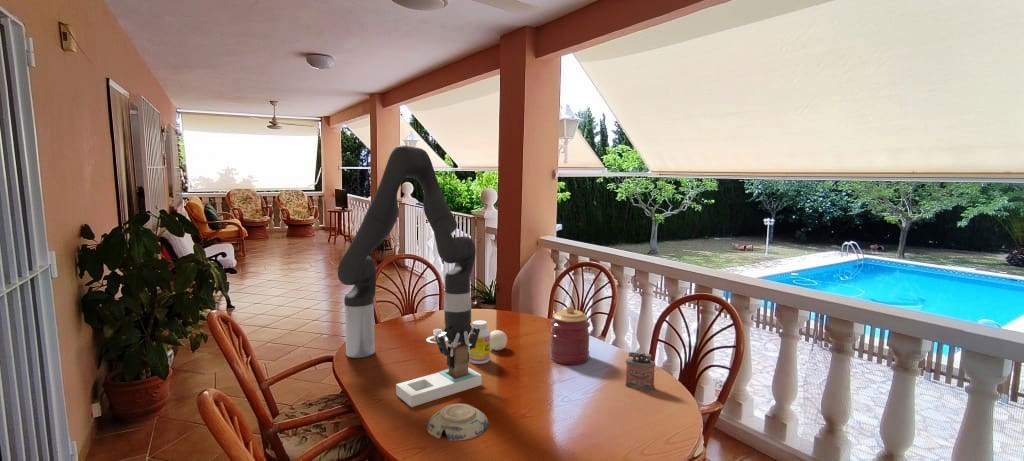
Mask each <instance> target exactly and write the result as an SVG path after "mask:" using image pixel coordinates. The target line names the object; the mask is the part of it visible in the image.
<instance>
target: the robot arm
mask: <svg viewBox="0 0 1024 461" xmlns="http://www.w3.org/2000/svg"><path fill="white" fill-rule="evenodd" d="M405 178H411V179H413V178H414V179H415V180H416V181H417V183H419V185H420V187H421V189H422V192H423V201H422V202H423V212H424V215H425V217H426V220H427V221H428V223H429V225H430V227H431V229H432V231H433V234H434V240H435V243H436V249H437V250H436V251H437V253H438V256H439V257H440V259H441V260H442V261H444V263H446V264H455V265H454V267H453V268H452V269H451V270H449V271H447V272H446V274H445V276H444V298H443V299H444V302H443V305H444V325H445V326H444V330H443V332H444V333H442V334H440V335H436V336H435V338H436V340H435V342H437V343H436V344H437V346H438V350H439V352H440V354H442V355H444V356H446V365H447V367H448V369H449V368H451V369H453V368H454V356H453V355H454V349H455V348H456V347H457V344H458V343H459V342H461V343H463V344H465V345H468V363H469V362H470V360H469V352H470V350H471V349H472V348H473V349H474V348H475V346H476V343H477V339H478V335H479V331H480V329H479V328H476V327H474V326H472V325H471V324H472V296H471V275H472V272H473V267H474V263H475V259H476V254H477V253H476V251H477V249H476V244H475V242H474V241H473V239H472V238H471V237H470V236H468V235H467V236H465V235H464V236H463V235H462V236H455V237H453V234H452V233H454V232H455V231H456V229H458V222H457V220H456V218H455V216H454V213H453V212H452V210H451V209H450V206H449V205H448V203H447V201H446V199H445V196H444V195H443V192H442V189H441V187H440V184H439V180H438V178H437V174H436V172H435V168H434V166H433V162H432V161H431V158H430V156H429V154H428V152H427V151H426V150H424V149H423V148H419V147H416V146H410V145H402V144H401V145H398V146H396V147H395V148H394V149H393V150H392V151H391V153H390V154H389V157H388V160H387V162H386V165H385V168H384V170H383V173H382V176H381V179H380V181H379V185H378V187H377V189H376V192H375V194H374V196H373V199H372V200H371V203H370V205H369V206H368V209H367V210H366V213H365V215H364V217H363V219H362V222H361V223H360V226H359V227H358V230H357V232H356V233H355V236H354V238H353V240H352V242H351V243H350V245H349V247H348V248H347V251H345V253H344V255H343V256H342V258H341V260H340V261H339V264H338V267H337V278H338V280H339V282H340V283H341V284H343V285H345V286H353V287H352V289H351V290H350V291H349V292H348V293H347V294H345V296H344V300H343V301H344V302H343V303H344V327H345V328H344V330H345V332H344V333H345V356H347V357H348V358H353V359H360V358H366V357H369V356H372V355H374V354H375V350H376V349H375V314H374V313H375V312H374V308H375V307H374V299H375V296H376V289H377V288H376V285H377V284H376V283H377V268H376V263H375V261H374V259H373V257H371V256H370V254H371V253H372V252H373V250H375V249H376V248H377V247H379V245H380V244H382V242H383V241H384V240H385V239H386V238H387V237H388V236H390V233H391V232H392V230H393V228H394V226H395V224H396V222H397V220H398V217H399V204H398V202H399V201H398V192H399V190H400V187H401V185H402V183H403V181H404V179H405ZM469 333H470V337H469ZM445 337H447V338H448V340H447V341H446V340H445ZM452 343H453V344H452Z"/></svg>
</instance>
